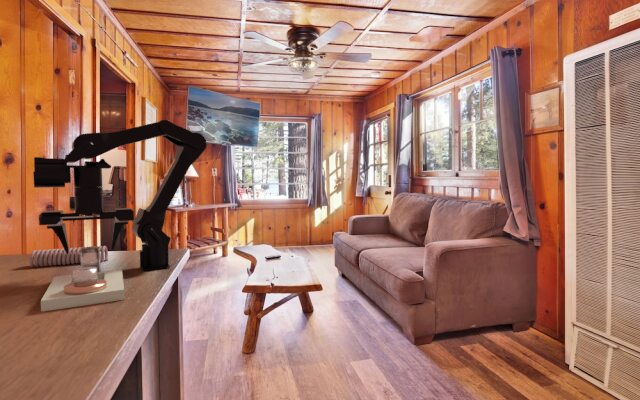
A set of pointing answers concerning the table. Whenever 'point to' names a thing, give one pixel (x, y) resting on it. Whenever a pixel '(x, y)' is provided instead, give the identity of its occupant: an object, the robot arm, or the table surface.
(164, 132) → the robot arm
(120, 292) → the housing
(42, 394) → the table surface
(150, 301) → the table surface
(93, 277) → the copper flanged knob
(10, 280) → the table surface
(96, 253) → the loose cylinder
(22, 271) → the table surface
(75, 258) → the coil
